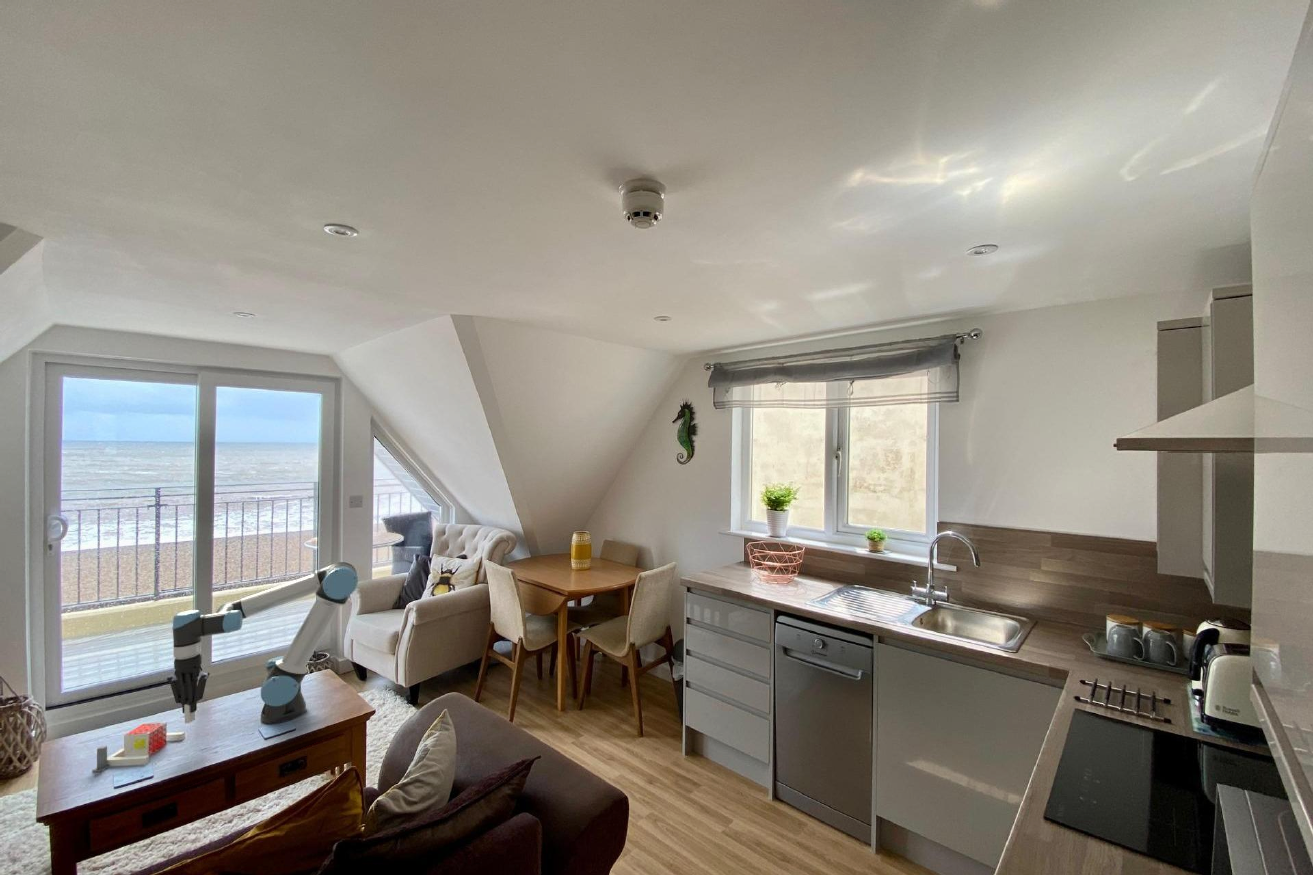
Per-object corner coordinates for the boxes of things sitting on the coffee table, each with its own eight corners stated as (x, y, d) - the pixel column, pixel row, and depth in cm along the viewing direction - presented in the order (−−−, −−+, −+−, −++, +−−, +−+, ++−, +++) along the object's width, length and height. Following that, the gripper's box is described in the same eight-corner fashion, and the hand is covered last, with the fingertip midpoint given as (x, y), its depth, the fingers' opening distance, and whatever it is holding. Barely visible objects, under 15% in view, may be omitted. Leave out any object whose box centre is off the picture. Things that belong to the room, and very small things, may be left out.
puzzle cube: (123, 757, 190) (123, 735, 190) (142, 745, 198) (142, 723, 198) (148, 756, 191) (148, 733, 191) (166, 744, 198) (166, 722, 199)
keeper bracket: (184, 737, 202) (184, 718, 203) (137, 769, 183) (138, 748, 183) (143, 739, 201) (144, 720, 202) (92, 771, 181) (92, 750, 182)
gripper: (214, 650, 199) (216, 714, 199) (176, 652, 198) (179, 717, 198) (199, 658, 192) (201, 725, 192) (159, 660, 191) (161, 728, 191)
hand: (190, 721), depth 195 cm, fingers closed
